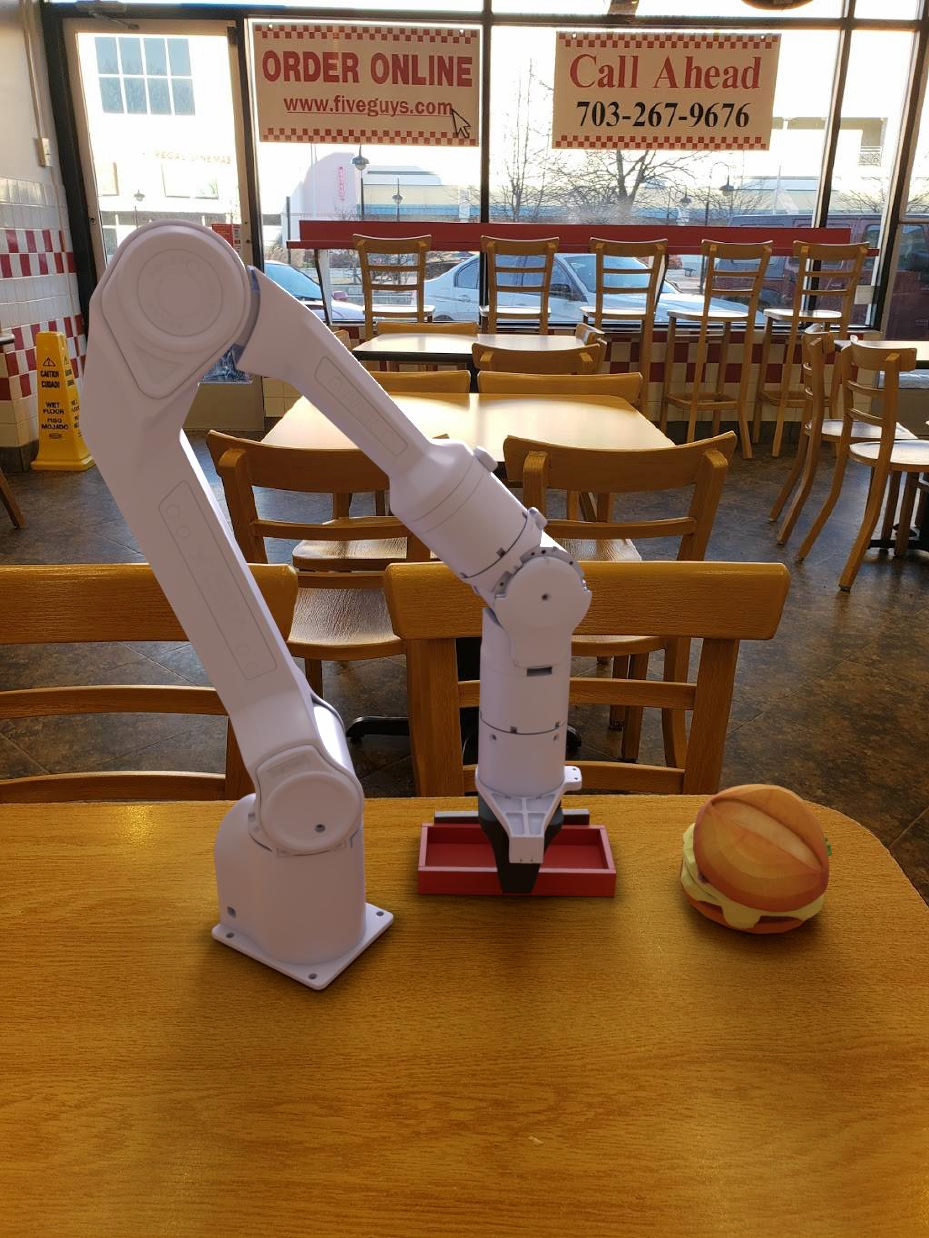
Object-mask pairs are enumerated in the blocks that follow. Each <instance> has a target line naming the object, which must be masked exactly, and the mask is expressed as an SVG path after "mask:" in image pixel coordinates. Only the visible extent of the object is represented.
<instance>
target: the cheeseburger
mask: <svg viewBox="0 0 929 1238" xmlns="http://www.w3.org/2000/svg"><path fill="white" fill-rule="evenodd" d="M682 838H683V840H682V841H681V842H682V844H683V845H682V851H681V855H682V858H681V865H680V870H679V871H680V872H679V880H680V885H681V888H682V890H683V892H684V894H685V897H686V899H687V902H688V903H689V904H690V905H691V906H692V907H693V908H695V909H696V910H697V911H698V912H699V913H701V914H702V915H703V916H704V917H705V918H707V919H709V920H712V921H713V922H716V923H718V924H720V925H723V926H724V927H726V928H729V929H731V930H737V931H742V932H747V933H751V934H755V935H759V934H760V935H761V934H762V935H763V934H783V933H786V932H788V931H790V930H792V929H795V928H798V927H800V926H802V925H803V924H804V922H805V921H807V920H808V919H810V918H813V917H814V916H815V915H817V914H818V913H819V912H820V911H821V910H822V907H823V904H824V900H825V895H824V894H825V893H826V891H827V889H828V884H829V880H830V879H829V878H830V871H831V870H830V859H829V857H831V856H832V855H833V853H832V845H831V843H827V842H828V841H829V839H828V837H825V835H824V831H823V829H822V827H821V824H820V822H819V820H818V819H817V817H816V816H815V814H814V812H812V810H811V809H810V807H809V806H808V804H807V803H806V801H805V800H804V799H803V798H801V797H800V796H799V795H798V794H796V793H795V792H794V791H793V790H790V789H787V788H785V787H782V786H781V785H777V784H776V785H773V784H765V783H764V784H763V783H753V784H751V783H750V784H742V785H737V786H731V787H729V788H726V789H723V790H721V791H719V792H718V793H716V794H715V795H713V796H712V797H711V798H710V799H709V800H707V801H706V802H705V803H704V804H703V805H701V807H700V808H699V810H698V813H697V816H696V820H695V821H694V822H693V823H692V824H690V825H689V826H688V828H687V829H686V830H685V831H684V833H683V834H682Z"/></svg>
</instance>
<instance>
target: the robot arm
mask: <svg viewBox="0 0 929 1238" xmlns="http://www.w3.org/2000/svg"><path fill="white" fill-rule="evenodd" d="M246 268H247V270H248V272H249V276H250V280H251V284H250V280H249V276H248V273H247V270H246ZM251 286H252V287H251ZM88 307H89V309H88V313H89V314H88V336H87V343H86V353H85V359H84V360H85V361H84V370H83V376H82V377H83V378H82V387H81V395H80V402H79V403H80V404H79V412H78V428H79V431H80V434H81V438H82V441H83V443H84V445H85V447H86V448H87V450H88V453H89V454H90V456H91V457H92V459H93V462H94V463H95V465H96V467H97V470H98V471H99V473H100V475H101V476H102V479H103V480H104V482H105V484H106V486H107V488H108V490H109V492H110V494H111V496H112V497H113V499H114V501H115V503H116V505H117V507H118V509H119V511H120V512H121V514H122V517H123V518H124V520H125V522H126V524H127V526H128V527H129V530H130V532H131V534H132V535H133V537H134V539H135V542H137V545H138V546H139V549H140V550H141V553H142V554H143V557H144V558H145V560H146V561H147V564H148V566H149V567H150V569H151V571H152V573H153V575H154V577H155V578H156V580H157V582H158V584H159V586H160V588H161V590H162V592H163V594H164V596H165V598H166V600H167V601H168V603H169V605H170V607H171V609H172V611H173V612H174V615H175V617H176V618H177V620H178V622H179V624H180V626H181V627H182V628H181V629H182V630H183V631H184V634H185V635H186V637H187V640H188V641H189V643H190V644H191V646H192V649H193V650H194V652H195V654H196V656H197V658H198V660H199V662H200V664H201V665H202V667H203V669H204V671H205V673H206V675H207V676H208V677H207V678H208V679H209V680H210V683H211V684H212V686H213V689H214V691H215V692H216V694H217V695H218V697H219V699H220V701H221V703H222V705H223V708H224V709H225V711H226V713H227V714H228V717H229V720H230V723H231V726H232V729H233V733H234V736H235V739H236V742H237V745H238V746H237V747H238V748H239V751H240V755H241V758H242V761H243V764H244V768H245V769H246V772H247V773H248V775H249V777H250V779H251V781H252V784H253V787H254V793H250V794H247V795H245V796H243V797H242V798H241V799H239V800H237V801H236V802H235V803H234V805H232V806H231V808H229V810H228V811H227V812H226V814H225V815H224V817H223V818H222V820H221V822H220V825H219V826H218V829H217V832H216V835H215V840H214V844H213V845H214V846H213V860H214V871H215V878H216V879H215V880H216V890H217V891H216V892H217V899H218V900H217V901H218V910H219V920H220V922H219V923H218V924H217V925H215V926H214V927H213V928H212V929H211V937H212V938H213V939H214V940H216V941H218V942H220V943H222V944H225V945H226V946H228V947H230V948H232V949H234V950H237V951H238V952H240V953H243V954H244V955H245V956H248V957H250V958H252V959H254V960H255V961H257V962H260V963H262V964H264V965H266V966H267V967H270V968H272V969H274V970H275V971H278V972H279V973H281V974H283V975H286V976H287V977H290V978H292V979H293V980H296V981H298V982H300V983H302V984H303V985H306V986H307V987H309V988H312V989H313V990H317V991H320V990H323V989H325V988H326V987H327V986H328V985H329V984H331V982H332V981H334V980H335V979H336V978H337V977H338V976H339V975H340V974H341V973H342V972H343V971H344V970H345V969H347V967H348V966H349V965H350V964H352V962H354V960H356V959H357V957H359V956H360V955H361V954H362V953H363V952H364V951H366V949H367V948H368V947H370V945H371V944H372V943H373V942H374V941H375V940H376V939H377V938H379V937H380V935H382V934H383V933H384V932H385V931H386V930H387V929H388V928H389V927H390V926H391V925H392V924H393V923H394V915H393V913H392V912H389V911H387V910H384V909H383V908H380V907H378V906H375V905H373V904H370V903H368V902H367V901H366V900H367V899H366V898H367V896H366V895H367V894H366V865H365V837H364V836H365V833H364V812H365V811H364V810H365V804H366V803H365V793H364V790H363V785H362V784H361V782H360V780H359V779H358V777H357V775H356V772H355V768H354V765H353V761H352V758H351V755H350V751H349V748H348V743H347V738H346V737H347V735H346V728H345V724H344V721H343V720H342V717H341V715H340V714H339V712H338V711H337V710H336V709H335V708H334V706H332V705H331V704H329V703H328V702H327V701H325V700H323V699H322V698H321V697H319V696H318V695H317V694H316V693H315V691H314V690H313V689H312V687H311V686H310V684H309V682H308V680H307V678H306V676H305V674H304V673H303V671H302V670H301V669H300V667H299V666H298V665H297V664H296V663H295V661H294V659H293V656H292V654H291V653H290V650H289V648H288V647H287V644H286V642H285V640H284V638H283V636H282V634H281V632H280V629H279V628H278V625H277V624H276V622H275V619H274V618H273V615H272V613H271V611H270V609H269V607H268V604H267V602H266V600H265V598H264V597H263V594H262V592H261V590H260V588H259V586H258V583H257V581H256V579H255V577H254V576H253V574H252V571H251V569H250V567H249V565H248V563H247V561H246V559H245V557H244V555H243V552H242V550H241V548H240V546H239V544H238V542H237V540H236V538H235V535H234V533H233V531H232V529H231V527H230V525H229V523H228V522H227V519H226V517H225V515H224V513H223V511H222V509H221V506H220V505H219V502H218V501H217V499H216V496H215V494H214V492H213V490H212V488H211V485H210V484H209V482H208V479H207V477H206V476H205V473H204V471H203V469H202V467H201V465H200V462H199V461H198V459H197V457H196V454H195V452H194V450H193V448H192V446H191V444H190V442H189V440H188V438H187V436H186V434H185V431H184V430H183V426H184V423H185V421H186V419H187V417H188V414H189V412H190V410H191V407H192V405H193V403H194V400H195V398H196V395H197V393H198V391H199V389H200V382H201V381H202V380H203V378H204V377H205V376H206V375H207V373H208V372H209V371H210V370H211V369H212V368H213V367H214V366H216V364H217V363H218V362H219V361H220V360H221V359H222V358H223V356H224V355H225V354H226V353H227V352H228V351H229V350H230V348H231V347H232V346H233V347H232V349H231V355H232V359H233V363H234V367H235V370H237V371H240V372H245V373H249V374H252V375H256V376H257V375H258V376H262V377H266V378H270V379H274V380H279V381H283V382H286V383H288V384H289V385H291V386H292V387H294V389H295V390H296V391H298V393H300V394H301V396H303V397H304V398H305V399H306V400H307V401H308V402H309V403H310V404H311V405H312V406H314V408H316V410H317V411H318V412H320V413H321V414H322V415H323V416H324V417H325V418H326V419H327V420H328V421H329V422H331V424H332V425H334V426H335V427H336V428H337V429H338V430H339V431H340V432H341V433H342V434H343V435H344V436H345V437H347V439H348V440H349V441H351V442H352V443H353V444H354V445H355V446H356V447H357V448H358V449H359V450H360V451H361V452H362V453H363V454H364V455H366V457H368V458H369V459H370V460H371V461H372V462H373V464H375V465H376V466H377V467H378V468H379V469H380V470H381V471H382V472H383V473H385V474H386V475H387V476H388V479H389V481H388V482H389V510H390V512H391V513H392V515H393V516H395V518H397V520H398V521H400V522H401V523H402V524H403V525H404V526H405V527H406V528H407V529H408V530H409V531H410V532H411V533H413V534H414V535H415V536H416V538H418V540H420V541H421V542H422V543H423V544H424V545H425V546H426V547H427V548H428V549H429V551H431V552H432V553H433V554H434V556H436V557H437V558H438V559H439V560H440V561H441V562H442V563H443V564H444V565H445V566H446V567H447V568H448V569H449V570H450V571H451V572H452V573H453V574H455V576H456V577H458V579H460V581H461V582H463V583H465V584H468V585H470V586H471V588H472V590H473V592H474V594H476V595H477V596H480V597H481V598H482V599H483V601H484V602H485V603H486V604H487V606H485V607H483V608H482V623H481V625H482V628H481V629H482V630H481V631H482V632H481V645H480V656H479V657H480V658H479V660H480V661H479V663H480V664H479V708H478V710H479V711H478V752H477V753H478V757H477V759H478V760H477V766H476V767H475V770H474V785H475V788H476V790H477V811H478V820H479V823H480V826H481V828H482V831H483V832H484V833H485V835H486V836H487V838H488V840H489V842H490V844H491V847H492V849H493V853H494V856H495V862H496V868H497V874H498V879H499V884H500V887H501V890H502V893H504V894H530V893H531V892H532V890H533V888H534V885H535V882H536V879H537V876H538V873H539V869H540V866H541V863H543V857H544V854H545V852H546V850H547V848H548V846H549V845H550V843H551V842H552V840H553V839H554V838H555V836H556V835H557V834H558V833H559V832H560V830H561V828H562V825H563V821H564V817H563V811H562V810H563V807H562V799H563V797H564V795H565V793H567V792H568V791H569V792H570V791H573V792H574V791H579V790H581V789H582V786H583V777H582V771H581V769H580V768H579V767H577V766H573V765H570V766H569V765H568V766H567V765H566V751H567V750H566V749H567V748H566V747H567V734H568V733H567V732H568V719H569V718H568V716H569V701H570V686H571V685H570V683H571V669H572V668H571V667H572V642H573V641H572V639H573V633H574V631H575V630H576V628H578V626H579V625H580V623H582V621H583V620H584V618H585V616H586V615H587V613H588V611H589V608H590V605H591V602H592V596H593V592H592V591H591V590H588V588H587V582H586V581H585V580H584V577H586V576H585V575H586V574H585V572H584V570H583V568H582V565H581V564H580V562H579V561H578V560H577V559H576V558H575V557H574V556H573V555H571V554H570V553H569V552H568V551H567V550H565V548H563V546H561V545H560V544H558V543H557V542H556V541H555V540H553V538H552V537H550V536H549V535H548V534H547V533H546V532H545V527H546V526H547V525H548V520H547V519H546V517H545V516H544V515H543V514H542V513H541V512H540V511H539V510H538V509H537V508H536V507H529V509H527V508H526V507H525V506H524V505H523V504H522V503H521V502H520V501H519V500H518V498H516V496H514V494H513V493H512V492H511V491H510V490H509V489H508V488H507V487H506V486H505V484H503V483H502V481H501V480H499V478H498V477H497V476H496V475H495V473H493V472H494V471H495V470H496V469H497V468H498V466H499V464H498V462H497V461H496V459H495V458H493V457H492V455H491V454H490V453H489V452H488V451H487V450H486V449H484V448H483V447H482V446H479V445H478V446H476V447H475V448H474V449H473V450H472V449H471V448H470V447H469V445H467V444H466V443H465V441H463V440H462V439H457V438H429V437H427V436H426V435H425V434H424V433H423V432H422V431H421V429H420V428H419V427H418V426H417V425H416V424H415V423H414V422H413V421H412V420H411V418H410V417H409V416H408V414H406V413H405V412H404V410H402V408H400V406H399V405H398V404H397V403H396V402H395V400H393V398H392V397H391V396H390V395H389V394H388V393H387V391H385V389H384V388H383V387H382V386H381V385H380V384H379V383H378V382H377V380H376V379H374V377H373V376H372V375H371V374H370V373H369V372H368V370H366V369H365V367H364V366H363V365H362V364H361V363H360V361H358V359H357V358H356V357H355V356H354V355H353V354H352V353H351V352H350V350H349V349H348V348H347V347H346V346H345V345H344V343H342V341H340V339H339V338H338V337H337V336H336V335H335V334H334V333H333V332H332V331H331V329H330V328H329V327H328V326H327V325H326V323H324V321H322V319H321V318H320V317H319V316H318V315H316V313H314V311H312V310H311V309H310V308H309V307H308V306H306V305H305V303H304V304H303V302H301V301H300V300H299V299H297V298H296V297H295V296H294V295H292V294H291V293H289V292H288V291H287V290H286V289H284V287H282V286H281V285H279V284H278V283H277V282H275V281H274V280H273V279H272V278H270V277H269V276H268V275H267V274H265V273H263V271H261V270H260V269H259V268H257V267H256V266H254V265H251V264H247V265H246V267H245V265H244V263H243V261H242V260H241V257H240V256H239V254H238V252H237V251H236V250H235V249H234V248H233V246H232V245H231V244H230V243H229V242H228V241H227V240H226V239H225V238H224V237H223V236H221V234H219V233H217V232H216V231H214V230H213V229H212V228H210V227H208V226H206V225H204V224H203V223H199V222H197V221H193V220H191V219H184V218H172V217H171V218H168V217H167V218H161V219H156V220H151V221H149V222H146V223H144V224H143V225H140V226H138V227H137V228H136V229H134V230H132V231H131V232H130V233H129V234H128V235H126V237H125V238H124V239H123V240H122V241H121V242H120V243H119V245H118V246H117V249H116V250H115V251H114V254H113V255H112V257H111V259H110V261H109V263H108V264H107V266H106V268H105V270H104V272H103V274H102V276H101V278H100V280H99V281H98V283H97V285H96V287H95V289H94V291H93V293H92V294H91V297H90V299H89V303H88Z"/></svg>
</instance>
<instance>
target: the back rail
mask: <svg viewBox="0 0 929 1238" xmlns="http://www.w3.org/2000/svg"><path fill="white" fill-rule="evenodd" d="M562 811H563V817H564V821H563V825H590V823H591V821H590V820H591V812H590V809H588V808H575V809H574V808H573V809H568V808H567V809H562ZM433 823H454V824H480V823H479V820H478V810H457V811H456V810H455V811H450V810H449V811H447V810H446V811H434V812H433Z"/></svg>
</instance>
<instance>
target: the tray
mask: <svg viewBox="0 0 929 1238" xmlns="http://www.w3.org/2000/svg"><path fill="white" fill-rule="evenodd" d="M420 827H421V828H420V840H419V841H420V842H419V851H418V863H417V894H418V895H458V896H459V895H461V896H463V895H465V896H466V895H467V896H469V895H471V896H473V895H474V896H538V897H540V896H545V897H548V896H549V897H607V898H608V897H612V898H613V897H615V896H616V886H617V875H618V874H617V870H616V866H615V865H616V864H615V861H614V857H613V853H612V849H611V844H610V840H609V836H608V831H607V828H606V827H607V826H606V825H597V824H596V825H595V824H593V825H592V824H589V825H562V828H561V830H560V832H559V833H558V834H557V835H556V836H555V838H554V839H553V840H552V842H551V843H550V845H549V846H548V848H547V850H546V852H545V854H544V857H543V863H541V866H540V869H539V873H538V876H537V879H536V882H535V885H534V888H533V890H532V892H531V893H530V894H504V893H502V890H501V887H500V884H499V879H498V874H497V868H496V862H495V856H494V853H493V849H492V847H491V844H490V842H489V840H488V838H487V836H486V835H485V833H484V832H483V831H482V828H481V826H480V824H454V823H434V822H422V823H421V825H420Z"/></svg>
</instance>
